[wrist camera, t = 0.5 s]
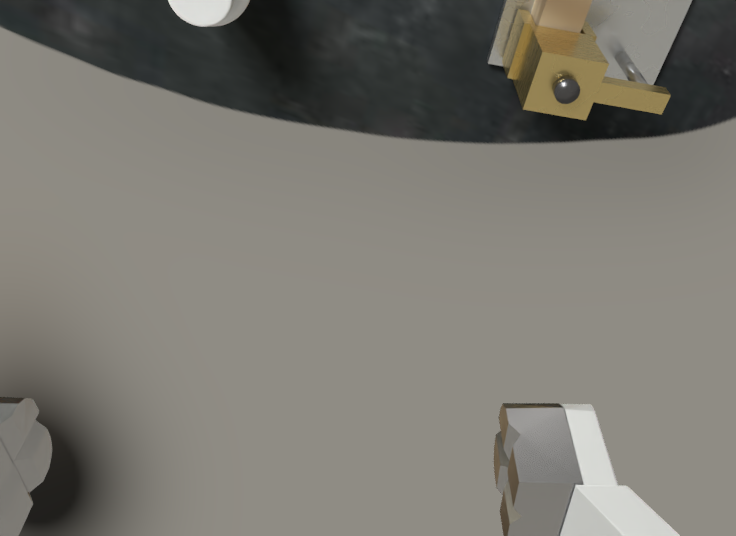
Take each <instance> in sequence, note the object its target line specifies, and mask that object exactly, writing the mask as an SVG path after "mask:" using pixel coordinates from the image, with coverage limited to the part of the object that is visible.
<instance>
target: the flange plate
mask: <svg viewBox="0 0 736 536" xmlns="http://www.w3.org/2000/svg"><path fill="white" fill-rule="evenodd" d="M534 2H535V0H504V2H503V6H502V9H501V12H500V16H499V19H498V23H497V26H496V29H495V33H494V36H493V40H492V43H491V46H490V50H489V53H488V57H487V62H488V64H493V65H498V66H503V64H502V59H503V56H504V53H505V50H506V46H507V43H508V40H509V37H510V33H511V30H512V27H513V24H514V20H515V17H516V14H517V11H518V9H523V10H528V11H529V12H530V14H531V11H532V8H533V5H534ZM691 2H692V0H592V3H591V5H590V8H589V11H588V13H587V16H586V19H585V21H586V22H588V24H589V25H590V27H591V28H592V30H593V31H594V33H595V34H596V36H597V38H596V41H595V42H596V44H597V45H598V47H599V49H600V50H601V52H602V53H603V55H604V57H605V58H606V60H607V61H608V63H609V66H608V68H607V70H606V73H605V75H604V76H606V77H611V78H617V79H622V80H628V79H627V77H626V75H625V74H624V72H623V71H622V69H621V68H620V66H619V65H618V63H617V62H616V60H615V55H616V53H617V52H619V51H625V52H626V53H627V54H628V55H629V57H630V58H631V60H632V61H633V63H634V64H635V66H636V67H637V68H638V70H639V71H640V73H641V74H642V76H643V77H644V78H645V80H646V81H647V83H648V84H649V85H654V82H655V80H656V78H657V76H658V74H659V72H660V69H661V67H662V65H663V63H664V61H665V59H666V56H667V54H668V52H669V50H670V48H671V46H672V43H673V41H674V39H675V37H676V35H677V32H678V30H679V28H680V26H681V24H682V22H683V19H684V17H685V15H686V13H687V11H688V9H689V6H690V4H691ZM628 81H629V80H628Z"/></svg>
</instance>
